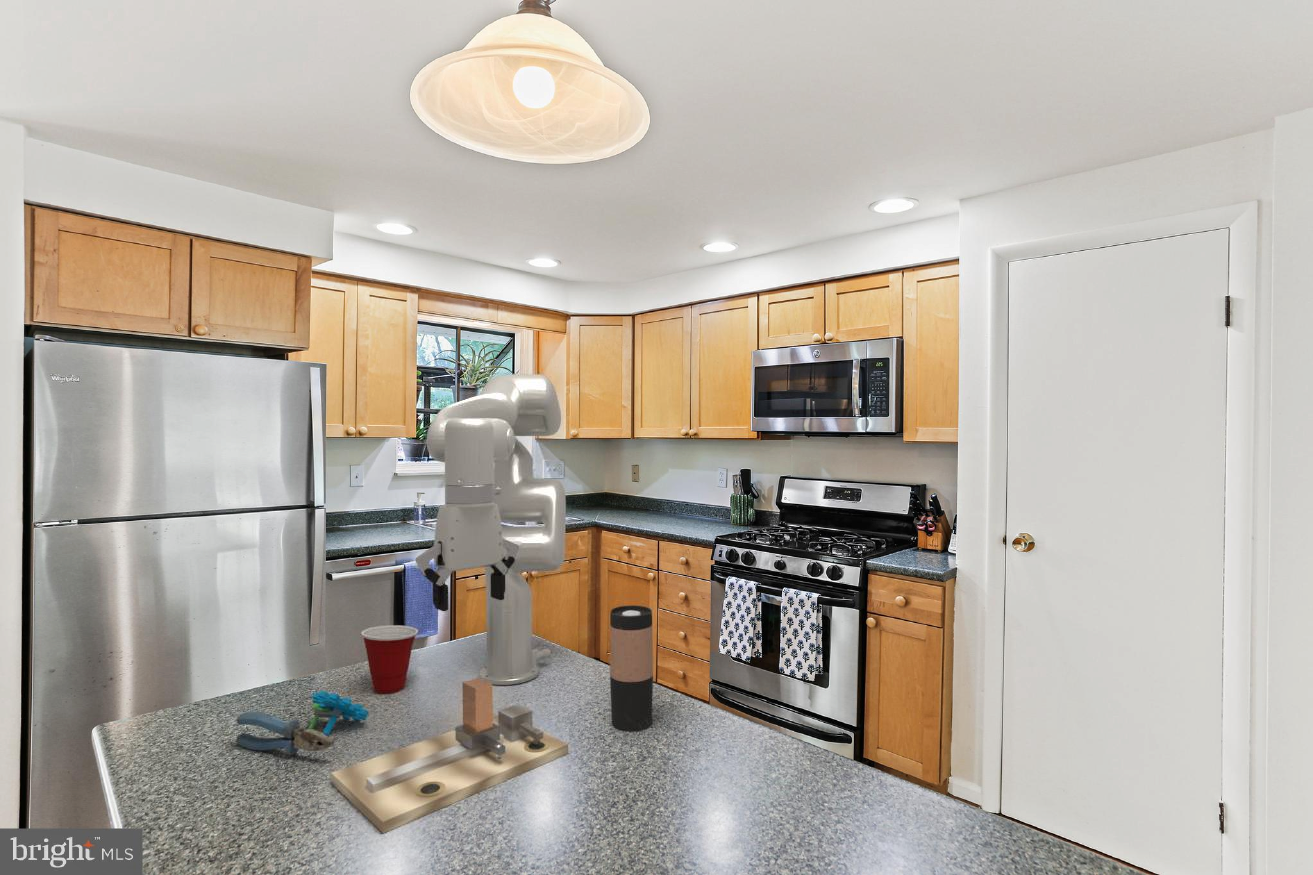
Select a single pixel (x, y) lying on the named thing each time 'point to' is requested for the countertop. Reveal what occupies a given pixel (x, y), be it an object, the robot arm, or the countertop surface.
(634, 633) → the travel mug
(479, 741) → the block
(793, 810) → the countertop surface
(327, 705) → the gear
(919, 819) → the countertop surface
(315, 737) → the pliers
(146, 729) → the countertop surface
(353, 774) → the wooden slide jig
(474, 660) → the countertop surface
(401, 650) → the plastic cup
